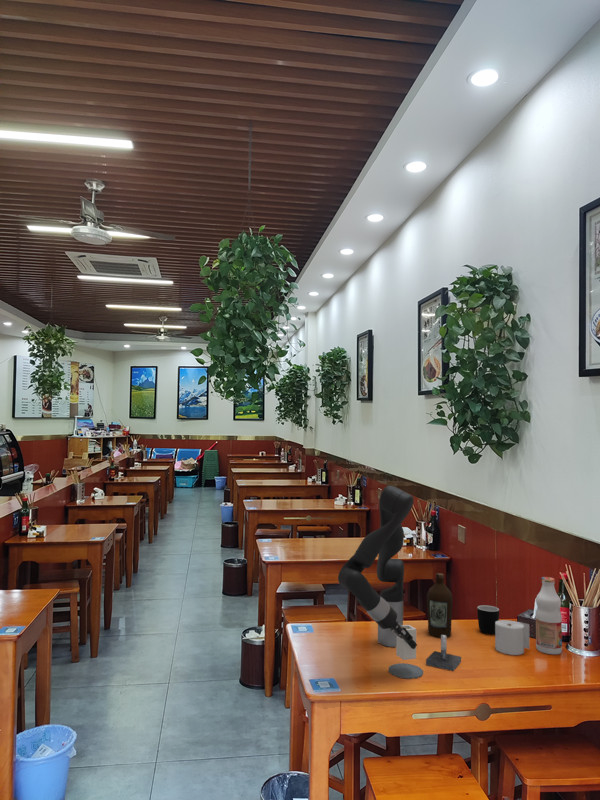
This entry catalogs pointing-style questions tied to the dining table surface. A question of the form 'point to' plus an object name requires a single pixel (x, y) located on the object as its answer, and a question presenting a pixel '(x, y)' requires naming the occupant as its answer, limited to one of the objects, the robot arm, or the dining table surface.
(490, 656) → the dining table surface
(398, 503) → the robot arm
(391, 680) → the dining table surface
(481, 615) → the mug
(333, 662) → the dining table surface
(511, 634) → the toilet tissue
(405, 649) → the sleeve
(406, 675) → the mat
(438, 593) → the olive oil
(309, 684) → the dining table surface
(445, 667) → the post stand
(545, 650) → the fruit juice
